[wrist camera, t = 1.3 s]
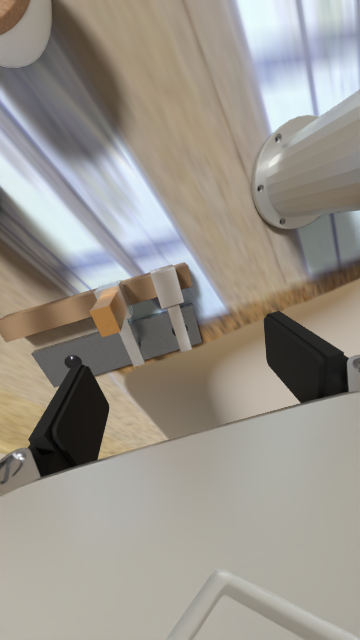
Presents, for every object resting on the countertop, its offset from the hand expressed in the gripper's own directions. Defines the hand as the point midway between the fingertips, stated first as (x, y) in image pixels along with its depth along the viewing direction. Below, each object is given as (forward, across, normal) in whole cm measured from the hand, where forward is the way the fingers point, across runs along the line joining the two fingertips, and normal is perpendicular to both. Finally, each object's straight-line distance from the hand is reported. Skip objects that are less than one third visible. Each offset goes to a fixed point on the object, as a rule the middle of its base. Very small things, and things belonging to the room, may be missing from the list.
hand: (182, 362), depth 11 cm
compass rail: (+22, +10, +4) cm, 24 cm away
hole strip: (+22, +10, +9) cm, 26 cm away
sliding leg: (+20, +7, +4) cm, 22 cm away
